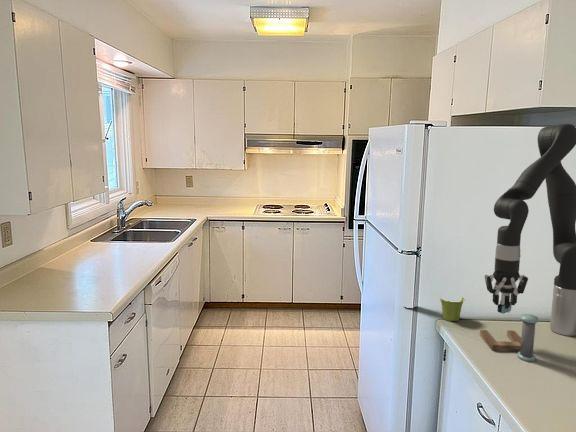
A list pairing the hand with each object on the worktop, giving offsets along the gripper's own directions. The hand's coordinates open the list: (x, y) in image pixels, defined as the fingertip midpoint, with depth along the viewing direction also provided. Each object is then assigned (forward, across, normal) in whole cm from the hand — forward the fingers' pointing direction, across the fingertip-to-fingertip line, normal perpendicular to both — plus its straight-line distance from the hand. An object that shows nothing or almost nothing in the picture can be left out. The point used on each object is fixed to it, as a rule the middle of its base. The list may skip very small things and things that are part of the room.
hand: (504, 304), depth 151 cm
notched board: (+14, 0, +2) cm, 14 cm away
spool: (+14, -3, +12) cm, 18 cm away
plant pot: (+14, +12, -19) cm, 27 cm away
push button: (+3, -1, 0) cm, 3 cm away
